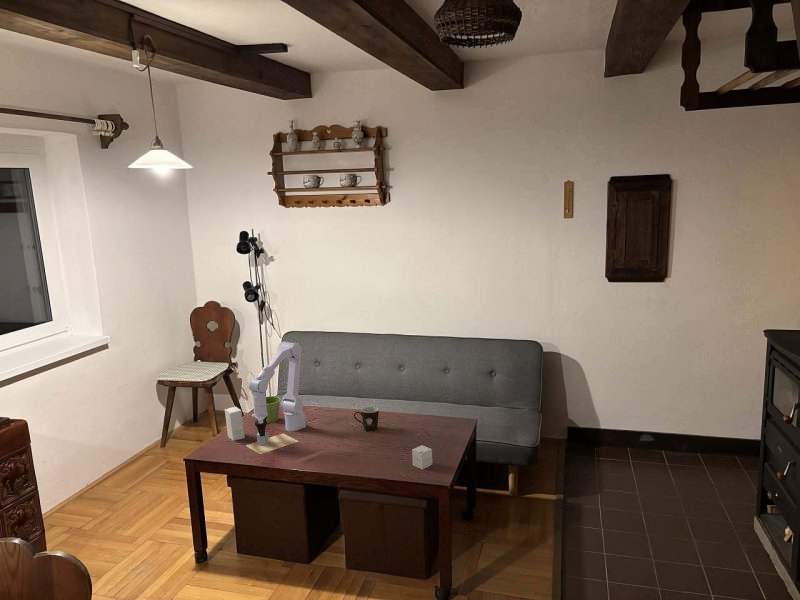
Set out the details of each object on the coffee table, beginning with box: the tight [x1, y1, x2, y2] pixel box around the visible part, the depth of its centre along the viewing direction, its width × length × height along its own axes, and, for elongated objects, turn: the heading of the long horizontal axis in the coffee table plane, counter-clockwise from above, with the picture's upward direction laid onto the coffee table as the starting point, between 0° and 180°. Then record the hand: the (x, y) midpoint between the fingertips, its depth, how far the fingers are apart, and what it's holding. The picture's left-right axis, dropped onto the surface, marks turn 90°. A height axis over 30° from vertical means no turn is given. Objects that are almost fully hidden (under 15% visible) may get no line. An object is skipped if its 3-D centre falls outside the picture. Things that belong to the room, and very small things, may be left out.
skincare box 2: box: [411, 444, 433, 470], centre depth 268 cm, size 6×6×7 cm
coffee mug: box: [353, 406, 380, 432], centre depth 310 cm, size 12×9×10 cm
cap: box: [256, 430, 270, 446], centre depth 294 cm, size 5×5×5 cm
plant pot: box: [266, 395, 282, 424], centre depth 326 cm, size 12×12×11 cm
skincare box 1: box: [224, 406, 246, 441], centre depth 303 cm, size 8×6×15 cm
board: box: [244, 433, 299, 455], centre depth 295 cm, size 20×14×1 cm
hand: (262, 432), depth 294 cm, fingers open, 7 cm apart
